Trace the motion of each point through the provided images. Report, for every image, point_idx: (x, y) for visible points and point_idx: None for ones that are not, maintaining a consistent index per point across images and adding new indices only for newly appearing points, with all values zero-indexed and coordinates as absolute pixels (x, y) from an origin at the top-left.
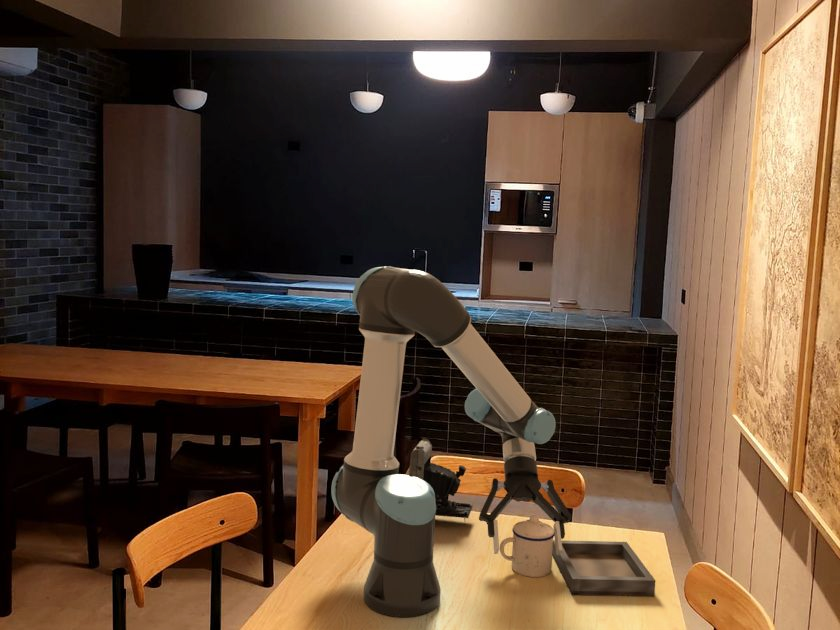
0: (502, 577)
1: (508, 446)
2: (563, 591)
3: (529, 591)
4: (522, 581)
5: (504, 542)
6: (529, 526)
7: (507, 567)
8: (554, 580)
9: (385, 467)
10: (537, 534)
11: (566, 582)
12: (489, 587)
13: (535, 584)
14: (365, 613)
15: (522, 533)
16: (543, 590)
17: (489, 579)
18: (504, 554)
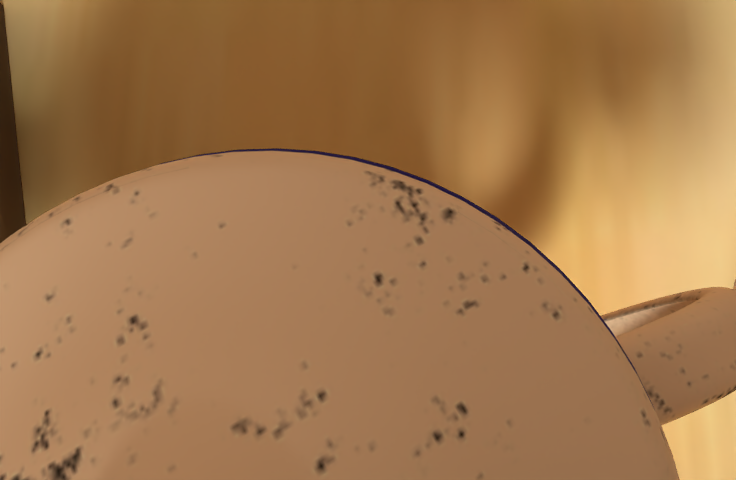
0: (579, 207)
1: None
2: (62, 62)
3: (344, 4)
4: (402, 168)
5: (729, 298)
6: (347, 402)
7: None
8: None
9: None
10: (181, 210)
11: (12, 182)
12: (672, 4)
13: (290, 136)
14: None
15: (492, 230)
16: (228, 45)
17: (688, 145)
18: (644, 302)
